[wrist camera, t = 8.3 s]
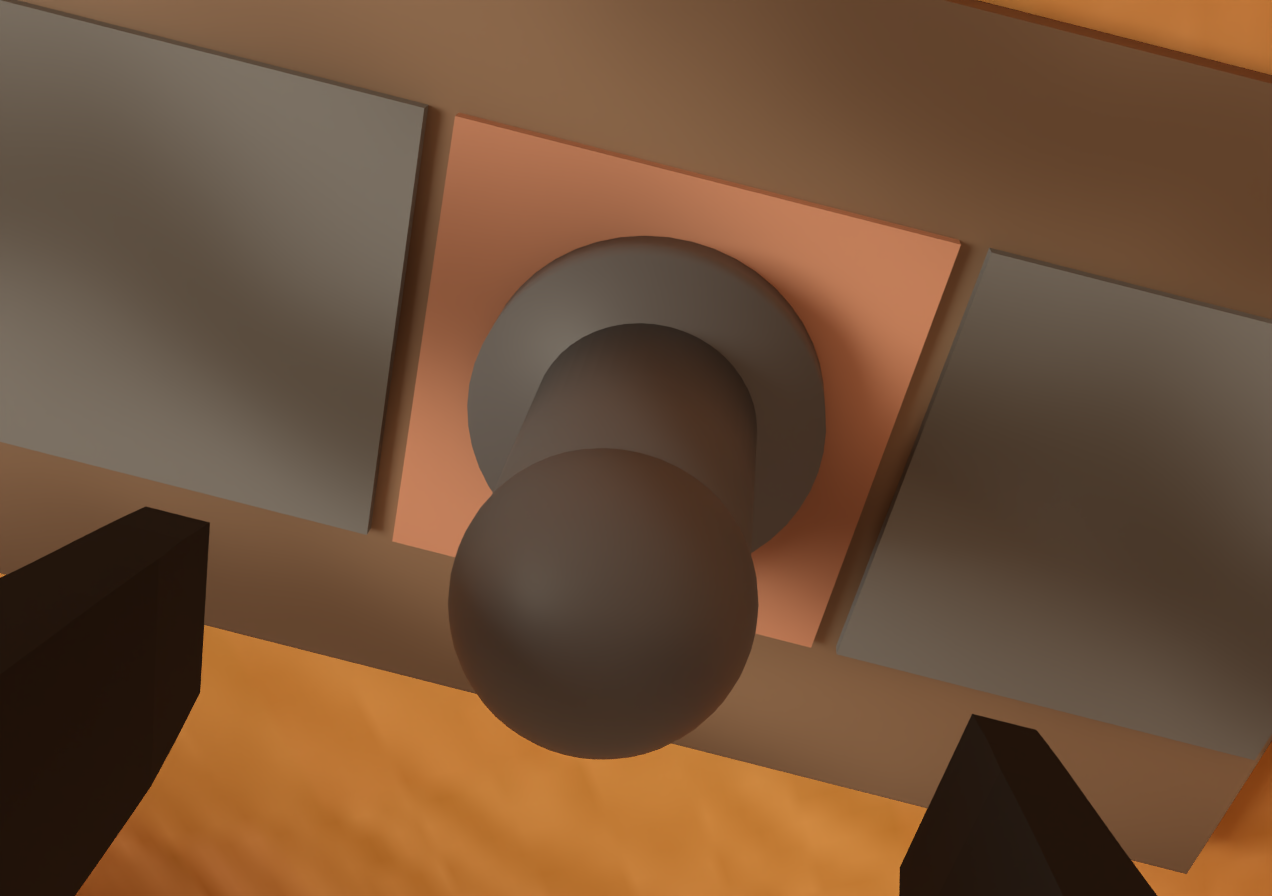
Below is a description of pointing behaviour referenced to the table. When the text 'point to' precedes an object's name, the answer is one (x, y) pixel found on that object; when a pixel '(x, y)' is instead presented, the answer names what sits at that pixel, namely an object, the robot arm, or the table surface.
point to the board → (739, 227)
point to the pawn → (629, 490)
